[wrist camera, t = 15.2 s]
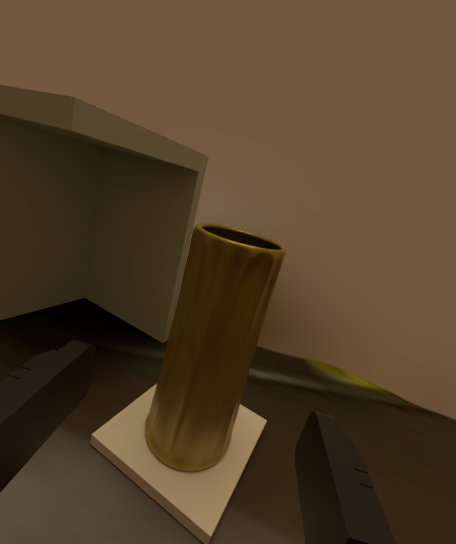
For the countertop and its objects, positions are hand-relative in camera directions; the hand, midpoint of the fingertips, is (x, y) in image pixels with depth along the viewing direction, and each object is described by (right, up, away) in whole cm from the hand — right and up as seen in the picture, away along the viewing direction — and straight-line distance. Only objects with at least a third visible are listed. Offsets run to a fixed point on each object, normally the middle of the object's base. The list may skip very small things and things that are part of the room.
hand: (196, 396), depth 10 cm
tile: (-2, -7, +10) cm, 12 cm away
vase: (-2, -7, +9) cm, 12 cm away
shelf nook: (-14, -2, +17) cm, 22 cm away
